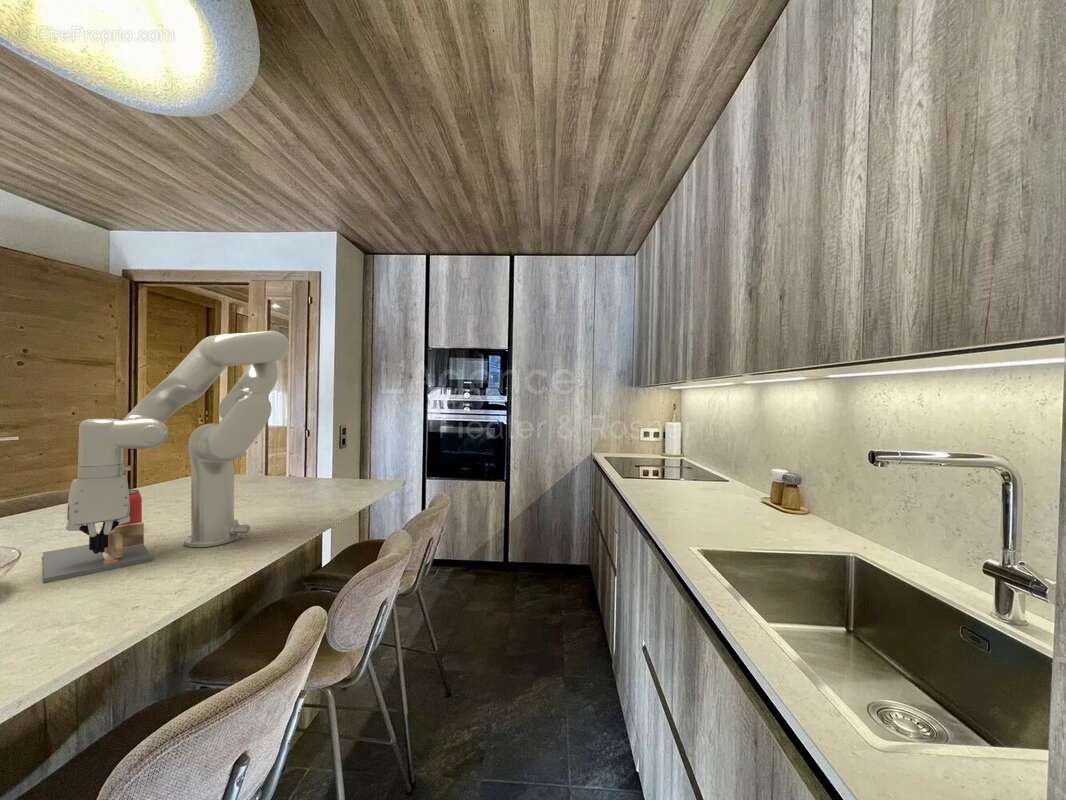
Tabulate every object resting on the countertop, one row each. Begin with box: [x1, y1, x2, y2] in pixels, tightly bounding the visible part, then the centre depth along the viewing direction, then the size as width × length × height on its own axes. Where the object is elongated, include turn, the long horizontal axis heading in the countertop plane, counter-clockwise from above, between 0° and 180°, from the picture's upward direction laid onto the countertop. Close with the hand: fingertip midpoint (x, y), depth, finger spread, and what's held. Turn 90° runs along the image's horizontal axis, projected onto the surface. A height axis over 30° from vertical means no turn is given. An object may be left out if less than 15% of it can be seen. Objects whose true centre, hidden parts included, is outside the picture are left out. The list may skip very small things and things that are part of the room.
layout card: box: [42, 543, 153, 584], centre depth 109 cm, size 18×22×1 cm
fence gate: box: [100, 526, 122, 558], centre depth 109 cm, size 11×2×6 cm, turn 56°
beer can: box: [118, 489, 143, 526], centre depth 127 cm, size 7×7×12 cm
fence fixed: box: [113, 521, 145, 548], centre depth 114 cm, size 6×1×6 cm, turn 138°
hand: (98, 551), depth 104 cm, fingers closed
